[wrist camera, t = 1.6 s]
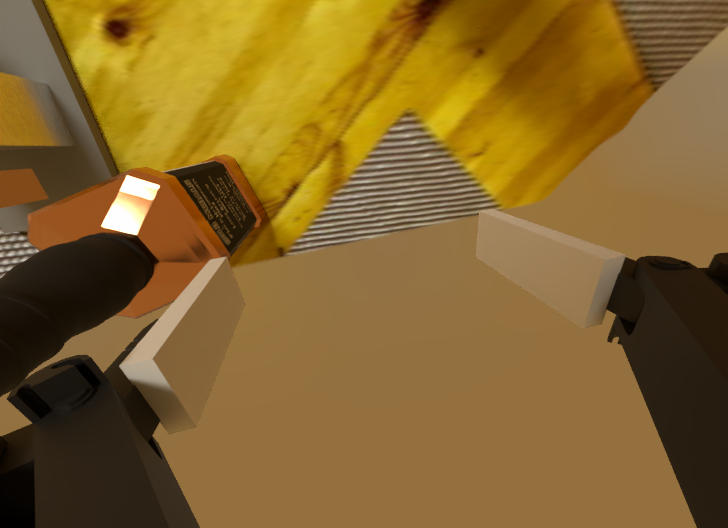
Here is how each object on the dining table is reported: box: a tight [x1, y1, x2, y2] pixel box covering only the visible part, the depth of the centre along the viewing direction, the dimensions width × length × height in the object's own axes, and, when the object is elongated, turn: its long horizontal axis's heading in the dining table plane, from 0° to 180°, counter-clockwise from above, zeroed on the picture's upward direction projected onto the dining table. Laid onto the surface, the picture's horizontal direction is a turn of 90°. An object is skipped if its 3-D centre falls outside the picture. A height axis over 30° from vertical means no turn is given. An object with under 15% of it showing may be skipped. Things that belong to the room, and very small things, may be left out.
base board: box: [0, 0, 119, 233], centre depth 29 cm, size 24×14×2 cm, turn 4°
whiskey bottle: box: [0, 155, 266, 397], centre depth 22 cm, size 10×10×32 cm
